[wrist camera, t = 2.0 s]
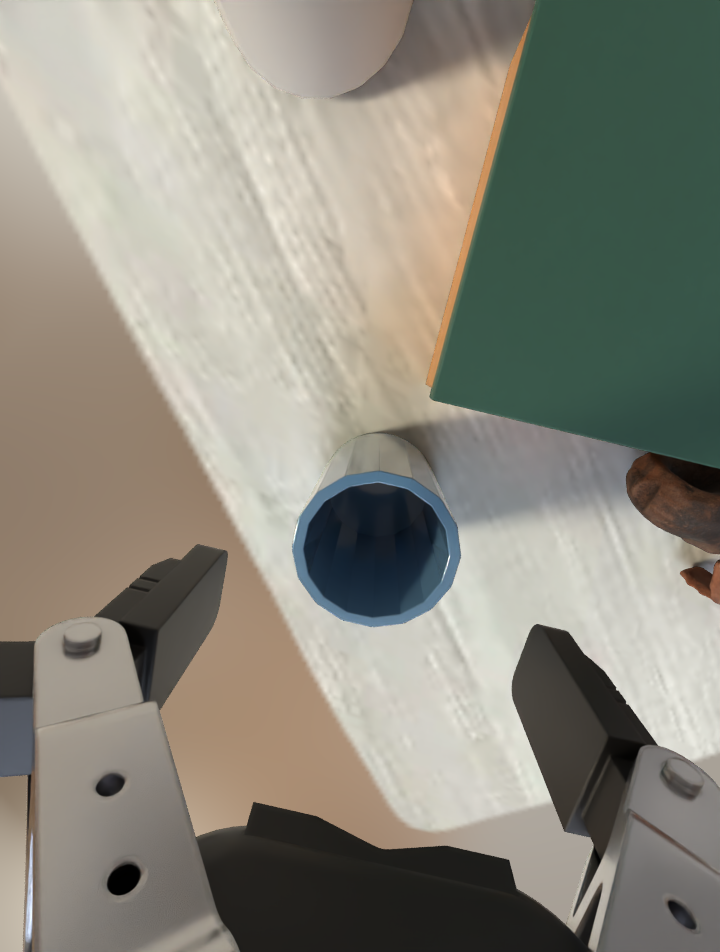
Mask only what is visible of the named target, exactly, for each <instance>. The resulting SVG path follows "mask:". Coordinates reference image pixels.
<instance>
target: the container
mask: <svg viewBox="0 0 720 952" xmlns="http://www.w3.org/2000/svg"><path fill="white" fill-rule="evenodd" d="M426 385H428V386H430V387H432V389H431V392H430V398H431V399H432V400H434V401H438V402H442V403H446V404H451V405H455V406H459V407H463V408H467V409H472V410H476V411H480V412H484V413H488V414H493V415H497V416H501V417H505V418H509V419H514V420H518V421H522V422H526V423H530V424H534V425H539V426H543V427H547V428H551V429H555V430H560V431H564V432H568V433H572V434H576V435H581V436H585V437H589V438H593V439H597V440H601V441H606V442H610V443H614V444H618V445H622V446H627V447H631V448H635V449H639V450H643V451H648V452H652V453H656V454H660V455H664V456H669V457H673V458H677V459H681V460H685V461H689V462H694V463H698V464H702V465H706V466H710V467H715V468H719V469H720V0H536V1H535V5H534V9H533V13H532V15H531V18H530V20H529V22H528V25H527V27H526V29H525V32H524V34H523V36H522V38H521V41H520V43H519V45H518V48H517V50H516V52H515V55H514V57H513V59H512V61H511V64H510V67H509V71H508V74H507V78H506V82H505V86H504V90H503V93H502V97H501V101H500V105H499V108H498V112H497V116H496V120H495V124H494V127H493V131H492V135H491V139H490V142H489V146H488V150H487V154H486V158H485V161H484V165H483V169H482V173H481V176H480V180H479V184H478V188H477V192H476V195H475V199H474V203H473V207H472V211H471V214H470V218H469V222H468V226H467V229H466V233H465V237H464V241H463V245H462V248H461V252H460V256H459V260H458V263H457V267H456V271H455V275H454V279H453V282H452V286H451V290H450V294H449V297H448V301H447V305H446V309H445V313H444V316H443V320H442V324H441V328H440V331H439V335H438V339H437V343H436V347H435V350H434V354H433V358H432V362H431V366H430V369H429V373H428V377H427V381H426Z"/></svg>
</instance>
